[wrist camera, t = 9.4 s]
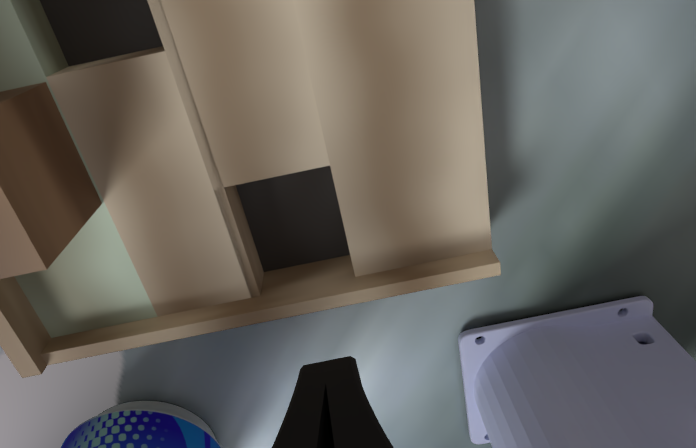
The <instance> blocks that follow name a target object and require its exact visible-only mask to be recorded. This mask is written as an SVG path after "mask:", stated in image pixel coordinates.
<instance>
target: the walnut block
mask: <svg viewBox="0 0 696 448" xmlns="http://www.w3.org/2000/svg"><path fill="white" fill-rule="evenodd" d="M101 204H102V202H101V200H100V198H99V196H98V193H97V191H96V189H95V187H94V185H93V183H92V180H91V178H90V176H89V174H88V172H87V170H86V168H85V165H84V163H83V161H82V159H81V157H80V155H79V153H78V150H77V148H76V146H75V144H74V142H73V140H72V137H71V135H70V133H69V131H68V129H67V127H66V125H65V122H64V120H63V118H62V116H61V114H60V112H59V109H58V107H57V105H56V103H55V101H54V99H53V97H52V94H51V92H50V90H49V88H48V86H47V84H46V82H43V83H39V84H34V85H29V86H25V87H20V88H15V89H10V90H6V91H1V92H0V279H3V278H8V277H13V276H18V275H23V274H28V273H33V272H38V271H42V270H47V269H48V268H49V266H50V265H51V264H52V263H53V262H54V261H55V259H56V258H57V257H58V256H59V255H60V253H61V252H62V251H63V250H64V249H65V247H66V246H67V245H68V244H69V243H70V241H71V240H72V239H73V238H74V237H75V235H76V234H77V233H78V232H79V231H80V230H81V228H82V227H83V226H84V225H85V224H86V222H87V221H88V220H89V219H90V218H91V216H92V215H93V214H94V213H95V212H96V210H97V209H98V208H99V207H100V206H101Z"/></svg>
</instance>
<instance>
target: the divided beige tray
mask: <svg viewBox="0 0 696 448" xmlns="http://www.w3.org/2000/svg"><path fill="white" fill-rule="evenodd" d="M43 82H46V84H47V86H48V88H49V90H50V92H51V94H52V97H53V99H54V101H55V103H56V105H57V107H58V109H59V112H60V114H61V116H62V118H63V120H64V122H65V125H66V127H67V129H68V131H69V133H70V135H71V137H72V140H73V142H74V144H75V146H76V148H77V150H78V153H79V155H80V157H81V159H82V161H83V163H84V165H85V168H86V170H87V172H88V174H89V176H90V178H91V180H92V183H93V185H94V187H95V189H96V191H97V193H98V196H99V198H100V200H101V202H102V204H101V206H100V207H99V208H98V209H97V210H96V212H95V213H94V214H93V215H92V216H91V218H90V219H89V220H88V221H87V222H86V224H85V225H84V226H83V227H82V228H81V230H80V231H79V232H78V233H77V234H76V235H75V237H74V238H73V239H72V240H71V241H70V243H69V244H68V245H67V246H66V247H65V249H64V250H63V251H62V252H61V253H60V255H59V256H58V257H57V258H56V259H55V261H54V262H53V263H52V264H51V265H50V266H49V268H48V269H47V270H42V271H38V272H33V273H28V274H23V275H18V276H13V277H8V278H3V279H0V346H1V347H2V349H3V350H4V352H5V353H6V355H7V356H8V358H9V359H10V361H11V362H12V363H13V365H14V367H15V368H16V370H17V371H18V372H19V374H20V375H21V377H22V378H25V377H30V376H35V375H40V374H42V373H43V371H44V370H45V368H46V366H47V365H51V364H57V363H62V362H67V361H72V360H77V359H81V358H87V357H92V356H97V355H101V354H107V353H111V352H116V351H122V350H127V349H132V348H137V347H142V346H147V345H152V344H157V343H162V342H167V341H172V340H177V339H182V338H187V337H192V336H197V335H202V334H207V333H212V332H217V331H222V330H227V329H232V328H237V327H242V326H247V325H252V324H257V323H262V322H267V321H272V320H277V319H282V318H287V317H292V316H297V315H302V314H307V313H312V312H317V311H322V310H327V309H332V308H337V307H342V306H347V305H352V304H357V303H362V302H367V301H372V300H377V299H382V298H387V297H392V296H397V295H402V294H407V293H412V292H417V291H422V290H427V289H432V288H437V287H443V286H448V285H453V284H458V283H463V282H468V281H473V280H478V279H483V278H488V277H493V276H498V275H501V270H500V261H499V260H498V258H497V257H496V255H495V253H494V252H493V250H492V243H491V229H490V215H489V201H488V187H487V173H486V159H485V145H484V131H483V117H482V103H481V89H480V75H479V61H478V47H477V33H476V19H475V4H474V0H0V92H1V91H6V90H10V89H15V88H20V87H25V86H29V85H34V84H39V83H43Z"/></svg>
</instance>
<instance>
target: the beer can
mask: <svg viewBox="0 0 696 448" xmlns="http://www.w3.org/2000/svg"><path fill="white" fill-rule="evenodd" d="M61 448H222V447H221V446H220V444H219V443H218V442H217V440H216V438H215V436H214V434H213V432H212V431H211V429H210V428H209V426H208V425H207V424H206V423H205V422H204V421H203V420H202V419H200V418H199V417H198V416H196V415H195V414H193V413H192V412H190V411H188V410H186V409H184V408H182V407H179V406H176V405H173V404H169V403H164V402H158V401H133V402H127V403H122V404H119V405H116V406H114V407H111V408H109V409H107V410H105V411H103V412H102V413H100V414H99V415H98V416H96V417H93V418H91V419H89V420H87V421H85V422H84V423H82V424H80V425H79V426H78V427H76V428H75V429H74V430H73V431H72V432H71V433H70V434H69V435H68V437H67V438H66V439H65V441H64V443H63V445H62V446H61Z"/></svg>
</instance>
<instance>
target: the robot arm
mask: <svg viewBox="0 0 696 448" xmlns="http://www.w3.org/2000/svg"><path fill="white" fill-rule="evenodd" d="M622 308H623V309H622ZM620 309H622V310H621V311H619V310H620ZM618 311H619V312H618ZM652 314H653V302H652V301H651V300H650V299H649V298H648V297H646V296H638V297H632V298H627V299H622V300H617V301H612V302H607V303H602V304H597V305H592V306H587V307H582V308H577V309H571V310H566V311H561V312H556V313H551V314H546V315H541V316H536V317H531V318H526V319H521V320H516V321H510V322H505V323H500V324H495V325H490V326H485V327H480V328H475V329H470V330H466V331H463V332H462V333H461V334H460V335H459V337H458V344H459V352H460V360H461V369H462V377H463V385H464V394H465V402H466V410H467V419H468V427H469V435H470V438H471V441H472V442H473V443H475V444H484V443H489V442H491V445H492V448H696V361H695V360H694V359H693V358H692V357H691V356H690V355H689V354H688V353H687V352H686V351H685V350H684V348H683V347H682V346H681V345H680V344H679V343H678V342H677V341H676V340H675V339H674V338H673V337H672V336H671V335H670V334H669V333H668V332H667V331H666V330H665V329H664V328H663V327H662V325H661V324H660V323H659V322H658V321H657V320H656V319H655V318H654V317H653V316H652ZM479 336H482V337H481V338H480V339H476V338H477V337H479ZM272 448H393V446H392V444H391V443H390V441H389V439H388V438H387V436H386V434H385V433H384V431H383V429H382V427H381V425H380V424H379V422H378V420H377V418H376V416H375V414H374V412H373V410H372V408H371V406H370V404H369V402H368V399H367V397H366V395H365V392H364V390H363V387H362V384H361V380H360V376H359V372H358V368H357V364H356V360H355V358H353V357H351V356H349V357H344V358H338V359H333V360H328V361H323V362H318V363H313V364H308V365H303V367H302V368H301V369H300V373H299V376H298V380H297V383H296V387H295V390H294V393H293V396H292V399H291V401H290V404H289V407H288V410H287V413H286V415H285V418H284V420H283V423H282V425H281V428H280V430H279V433H278V435H277V437H276V440H275V442H274V444H273V446H272Z"/></svg>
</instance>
